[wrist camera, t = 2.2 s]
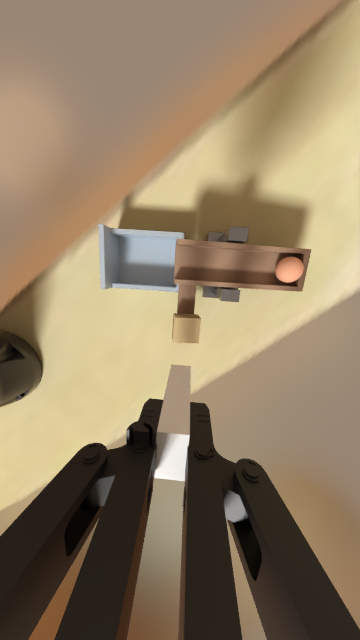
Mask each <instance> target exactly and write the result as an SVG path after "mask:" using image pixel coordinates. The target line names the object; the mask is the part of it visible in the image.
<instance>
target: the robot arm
mask: <svg viewBox="0 0 360 640" xmlns="http://www.w3.org/2000/svg"><path fill="white" fill-rule="evenodd" d="M190 369H191V366H182V365H171V368H170V373H169V377H168V382H167V387H166V391H165V396H164V400H159V399H149V400H148V401H147V402H146V403H145V404H144V406H143V409H142V412H141V415H140V418H139V420H138V421H137V422H134V423H133V424H131V425H130V426H129V427H128V429H127V444H126V445H124V446H122V447H119V448H116V449H110V450H107V449H106V446H104V445H103V444H101V443H92V444H88V445H86V446H84V447H83V448H82V449H80V450H79V451H78V452H77V453H76V454H75V456H74V457H73V458H72V459H71V460H70V461H69V462H68V463H67V464H66V465H65V466H64V468H63V469H62V470H61V471H60V472H59V473H58V474H57V475H56V476H55V477H54V478H53V480H52V481H51V482H50V483H49V484H48V485H47V486H46V487H45V488H44V489H43V490H42V492H41V493H40V494H39V495H38V496H37V497H36V498H35V499H34V500H33V501H32V503H31V504H30V505H29V506H28V507H27V508H26V509H25V510H24V511H23V512H22V513H21V515H20V516H19V517H18V518H17V519H16V520H15V521H14V522H13V523H12V524H11V525H10V527H9V528H8V529H7V530H6V531H5V532H4V533H3V534H2V535H1V536H0V640H28V639H29V637H30V636H31V634H32V632H33V631H34V629H35V627H36V625H37V624H38V622H39V620H40V618H41V617H42V615H43V613H44V612H45V610H46V608H47V607H48V605H49V603H50V601H51V599H52V598H53V596H54V595H55V593H56V591H57V589H58V587H59V586H60V584H61V582H62V581H63V579H64V577H65V576H66V574H67V572H68V570H69V568H70V567H71V565H72V564H73V562H74V560H75V558H76V557H77V555H78V553H79V552H80V550H81V548H82V546H83V545H84V543H85V541H86V540H87V538H88V536H89V534H90V533H91V531H92V529H93V528H94V526H95V524H96V522H97V521H98V519H99V521H98V524H97V526H96V529H95V532H94V534H93V537H92V540H91V542H90V545H89V548H88V550H87V553H86V556H85V558H84V561H83V564H82V567H81V569H80V572H79V575H78V577H77V580H76V583H75V586H74V588H73V591H72V594H71V597H70V599H69V602H68V605H67V607H66V610H65V613H64V615H63V618H62V621H61V624H60V626H59V629H58V632H57V634H56V637H55V640H127V635H128V629H129V624H130V618H131V612H132V607H133V601H134V595H135V589H136V583H137V578H138V572H139V566H140V561H141V555H142V549H143V543H144V537H145V531H146V526H147V520H148V515H149V509H150V503H151V497H152V492H153V480H154V478H161V479H170V480H178V481H185V487H184V497H183V526H182V552H181V578H180V579H181V580H180V606H179V633H178V640H242V635H241V627H240V619H239V612H238V606H237V605H238V604H237V597H236V591H235V582H234V575H233V568H232V561H231V553H230V545H229V539H228V531H227V523H226V519H227V520H228V524H229V526H230V530H231V533H232V536H233V539H234V542H235V544H236V548H237V550H238V553H239V557H240V560H241V562H242V565H243V569H244V571H245V574H246V578H247V581H248V584H249V587H250V590H251V593H252V595H253V599H254V602H255V605H256V608H257V611H258V614H259V617H260V619H261V623H262V626H263V629H264V632H265V635H266V638H267V640H360V630H359V628H358V626H357V625H356V623H355V621H354V620H353V618H352V616H351V614H350V613H349V611H348V609H347V608H346V606H345V604H344V603H343V601H342V599H341V598H340V596H339V594H338V593H337V591H336V589H335V588H334V586H333V584H332V583H331V581H330V579H329V578H328V576H327V574H326V572H325V571H324V569H323V568H322V566H321V564H320V563H319V561H318V559H317V557H316V556H315V554H314V552H313V551H312V549H311V547H310V546H309V544H308V542H307V541H306V539H305V537H304V536H303V534H302V532H301V530H300V529H299V527H298V525H297V524H296V522H295V520H294V519H293V517H292V515H291V514H290V512H289V510H288V509H287V507H286V505H285V504H284V502H283V500H282V499H281V497H280V495H279V494H278V492H277V490H276V489H275V487H274V485H273V484H272V482H271V480H270V479H269V477H268V475H267V474H266V472H265V471H264V469H263V468H262V467H261V465H259V464H258V463H257V462H255V461H253V460H250V459H240V460H238V462H237V463H234V462H231V461H229V460H227V459H225V458H223V457H222V456H220V455H219V454H218V452H217V451H216V450H215V448H214V444H213V437H212V429H211V423H210V413H209V409H208V407H207V406H206V404H204V403H194V402H190ZM41 376H42V368H41V363H40V360H39V358H38V356H37V354H36V353H35V351H34V350H33V349H32V347H31V346H30V345H29V344H28V343H26V342H25V341H24V340H23V339H21V338H19V337H17V336H15V335H13V334H10V333H6V332H0V407H3V406H5V405H8V404H11V403H13V402H16V401H18V400H21V399H22V398H24V397H26V396H27V395H28V394H29V393H31V392H32V391H33V390H34V389H35V388H36V387H37V386H38V384H39V382H40V380H41ZM99 517H100V518H99Z"/></svg>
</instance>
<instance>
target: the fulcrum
mask: <svg viewBox="0 0 360 640" xmlns="http://www.w3.org/2000/svg"><path fill="white" fill-rule="evenodd" d="M248 231H249V228H246V227H229V228H228V229H227V230H226V231H225V232H224V233H218V232H209V233H208V241H214V242H226V243H238V244H244V243H245V242H247V238H248ZM239 295H240V290H238V289H237V288H234V287H217V286H204V287H203V297H210V298H219V299H220V300H221V301H231V302H239Z"/></svg>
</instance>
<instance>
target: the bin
mask: <svg viewBox="0 0 360 640" xmlns="http://www.w3.org/2000/svg"><path fill="white" fill-rule="evenodd" d="M177 239H185V234H184V233H182V232H165V231H149V230H133V229H116V228H109V227H107V226H105V225H103V224H99V252H100V280H101V289H108V288H124V289H139V290H153V291H168V292H178V291H179V284H174V283H173V282H174V264H175V246H176V240H177Z"/></svg>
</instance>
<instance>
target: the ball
mask: <svg viewBox="0 0 360 640" xmlns="http://www.w3.org/2000/svg"><path fill="white" fill-rule="evenodd" d="M303 270H304V266H303V263H302V261H301V260H300V259H298V258H296V257H286V258H284V259H282V260H281V261H280V262H279V263H278V264H277V266H276V269H275V274H276V276H277V278H278V279H279V280H280V281H282V282H293V281H296V280H297V279H299V278H300V277H301V275H302V273H303Z"/></svg>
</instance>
